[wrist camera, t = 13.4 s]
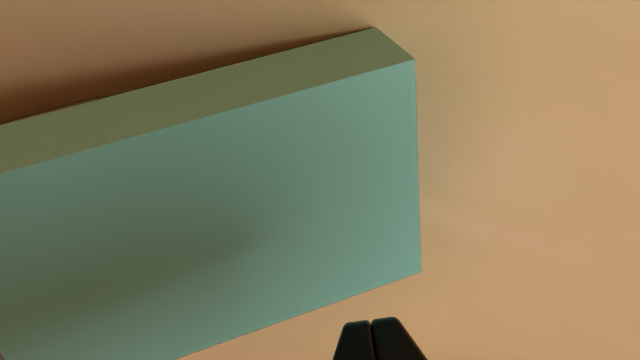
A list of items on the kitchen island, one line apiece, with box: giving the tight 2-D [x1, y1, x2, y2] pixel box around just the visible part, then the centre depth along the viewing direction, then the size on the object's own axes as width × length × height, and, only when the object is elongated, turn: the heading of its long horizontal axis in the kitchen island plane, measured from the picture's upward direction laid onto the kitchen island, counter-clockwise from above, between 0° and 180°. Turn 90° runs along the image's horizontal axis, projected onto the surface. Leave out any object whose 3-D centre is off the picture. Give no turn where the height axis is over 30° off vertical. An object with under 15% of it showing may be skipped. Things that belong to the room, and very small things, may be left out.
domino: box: [0, 27, 421, 360], centre depth 11 cm, size 5×2×8 cm
